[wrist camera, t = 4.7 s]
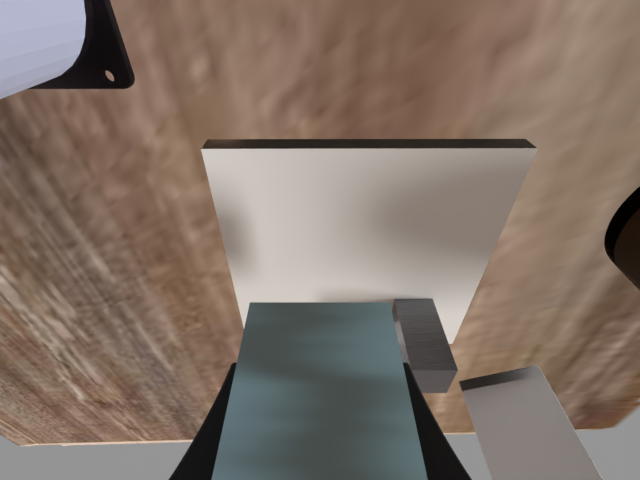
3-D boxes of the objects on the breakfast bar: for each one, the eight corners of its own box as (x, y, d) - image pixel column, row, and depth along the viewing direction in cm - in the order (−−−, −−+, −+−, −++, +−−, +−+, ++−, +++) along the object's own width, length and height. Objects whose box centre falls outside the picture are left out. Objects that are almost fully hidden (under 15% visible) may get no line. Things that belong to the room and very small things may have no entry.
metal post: (388, 320, 24) (403, 393, 20) (394, 296, 22) (411, 370, 18) (424, 320, 24) (446, 393, 20) (431, 296, 22) (458, 370, 18)
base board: (250, 331, 27) (247, 344, 26) (207, 139, 16) (200, 149, 16) (447, 330, 27) (452, 343, 26) (525, 138, 17) (537, 148, 16)
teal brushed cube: (264, 375, 15) (236, 574, 10) (249, 302, 12) (198, 540, 7) (375, 375, 15) (402, 574, 10) (389, 302, 12) (440, 540, 7)
